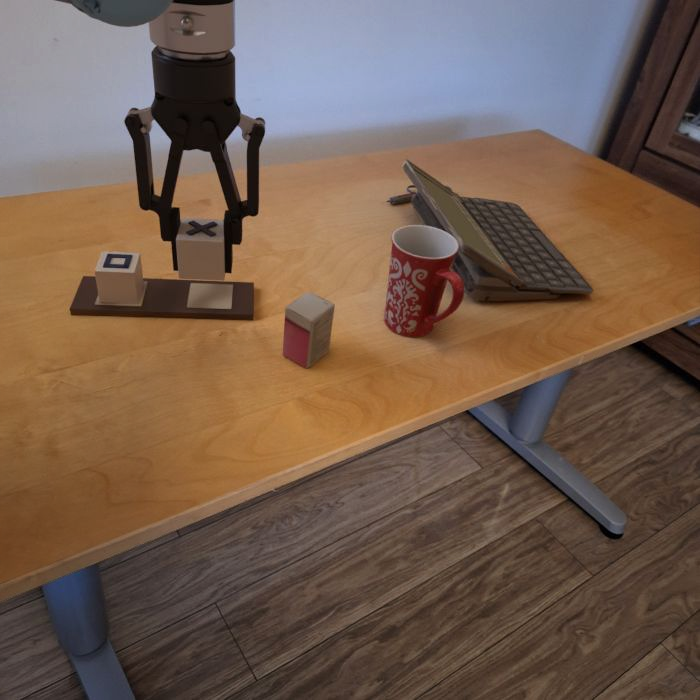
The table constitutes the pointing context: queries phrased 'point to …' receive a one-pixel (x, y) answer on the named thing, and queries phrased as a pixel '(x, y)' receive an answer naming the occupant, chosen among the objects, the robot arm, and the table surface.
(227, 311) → the word board
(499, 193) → the table surface
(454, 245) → the mug
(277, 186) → the table surface
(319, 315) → the small box
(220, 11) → the robot arm
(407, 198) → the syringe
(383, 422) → the table surface
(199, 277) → the tile
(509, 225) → the laptop
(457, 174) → the table surface
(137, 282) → the tile
